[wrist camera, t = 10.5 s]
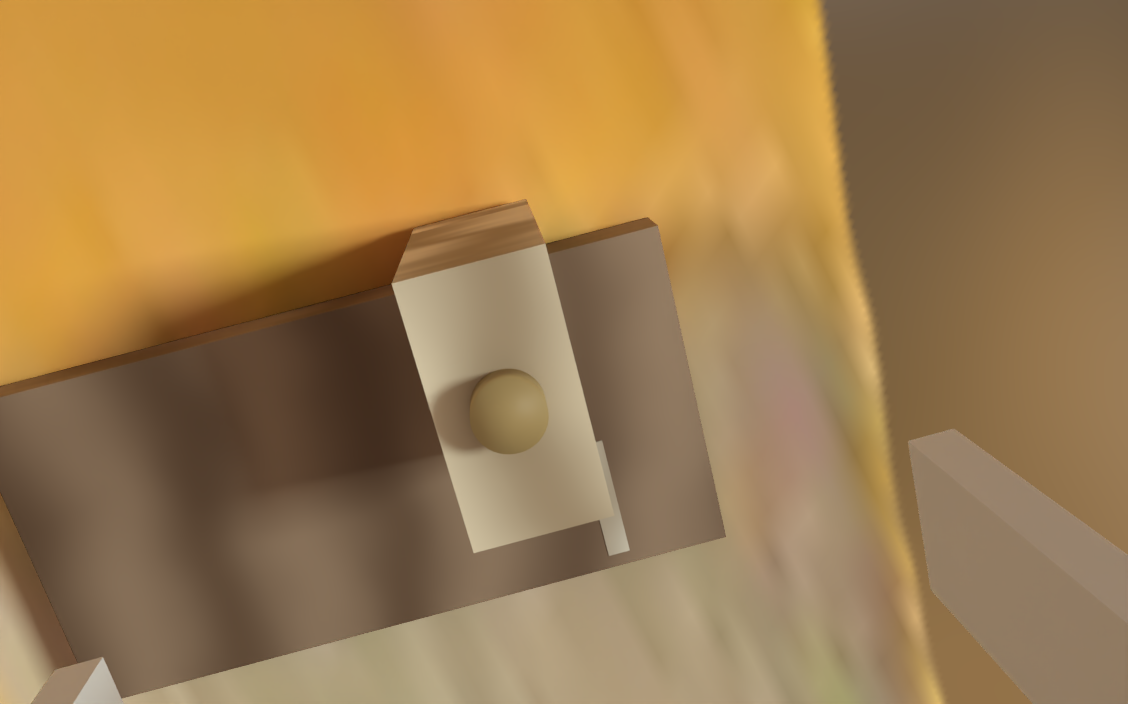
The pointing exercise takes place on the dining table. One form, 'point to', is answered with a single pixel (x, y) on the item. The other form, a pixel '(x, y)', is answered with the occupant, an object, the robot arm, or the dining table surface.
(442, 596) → the board
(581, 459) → the block
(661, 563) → the dining table surface
